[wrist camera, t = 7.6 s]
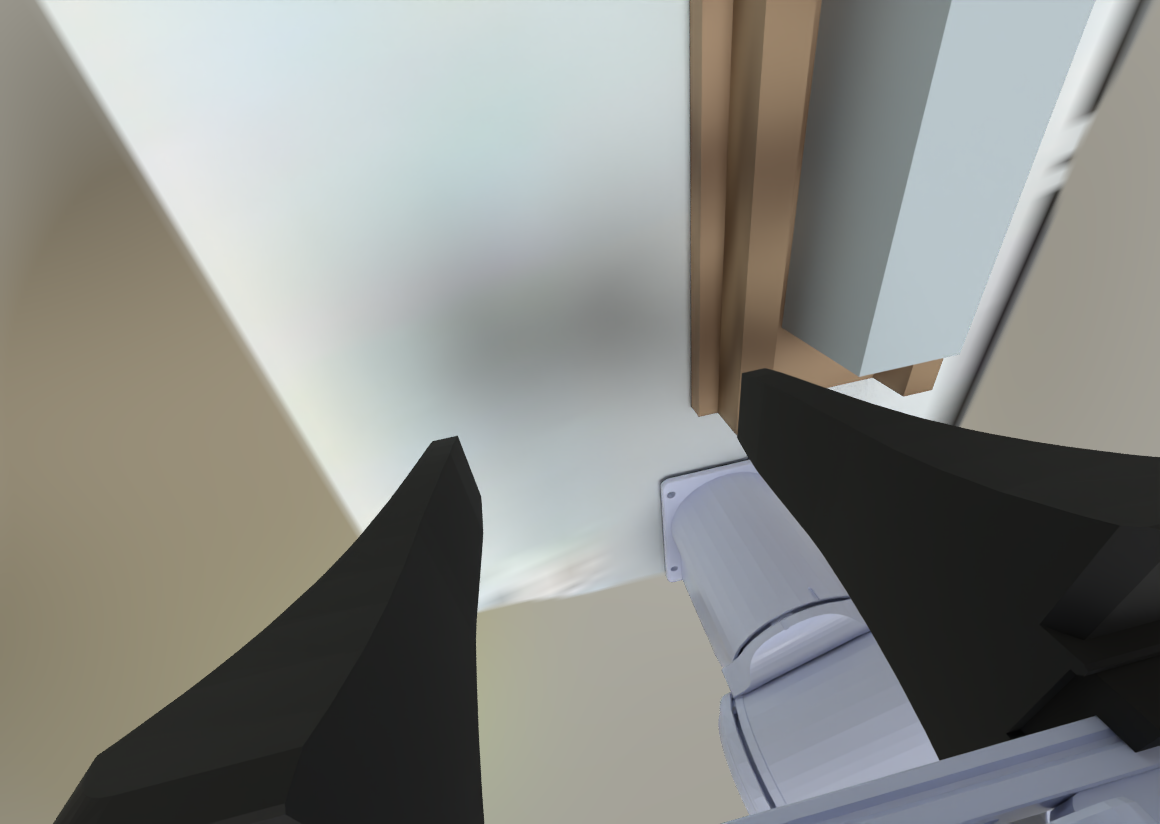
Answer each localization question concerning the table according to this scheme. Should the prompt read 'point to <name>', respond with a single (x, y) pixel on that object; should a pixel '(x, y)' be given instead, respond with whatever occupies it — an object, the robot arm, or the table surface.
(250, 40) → the table surface
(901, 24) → the orange-capped grey pillar
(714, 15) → the wooden rail tray
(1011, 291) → the table surface
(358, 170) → the table surface
